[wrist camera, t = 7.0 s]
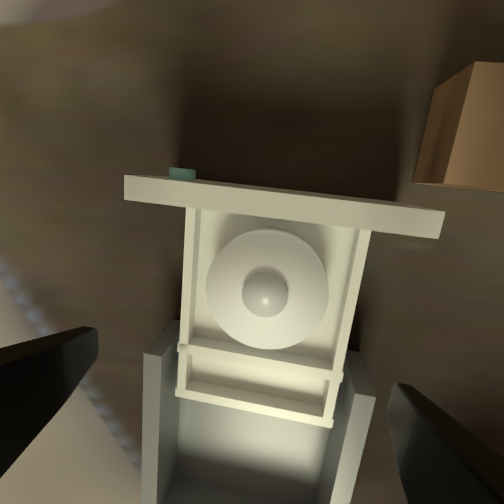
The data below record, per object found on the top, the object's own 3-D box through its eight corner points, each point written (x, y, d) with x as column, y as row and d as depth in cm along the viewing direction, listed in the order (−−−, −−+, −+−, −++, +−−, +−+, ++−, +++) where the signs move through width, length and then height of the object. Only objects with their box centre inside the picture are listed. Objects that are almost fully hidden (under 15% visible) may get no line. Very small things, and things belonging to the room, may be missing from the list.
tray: (402, 192, 15) (449, 197, 11) (353, 404, 19) (373, 482, 14) (173, 167, 17) (124, 162, 12) (166, 367, 20) (124, 426, 15)
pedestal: (535, 95, 14) (610, 69, 11) (505, 192, 15) (564, 196, 12) (434, 88, 15) (474, 61, 11) (412, 182, 16) (443, 183, 12)
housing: (359, 351, 18) (376, 397, 14) (324, 510, 22) (330, 581, 18) (173, 319, 20) (143, 353, 16) (167, 472, 23) (140, 531, 19)
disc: (335, 235, 15) (341, 243, 13) (315, 340, 17) (317, 363, 14) (220, 219, 16) (208, 224, 14) (211, 321, 17) (199, 340, 15)
